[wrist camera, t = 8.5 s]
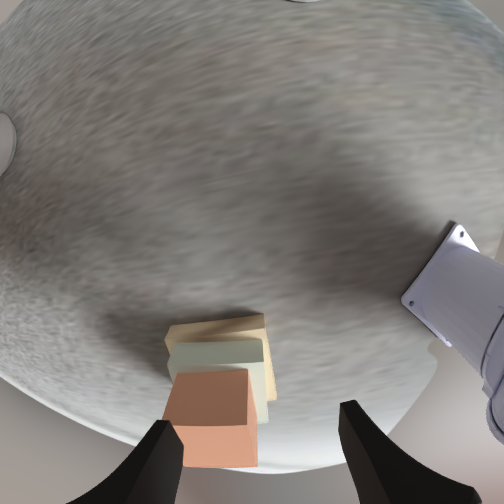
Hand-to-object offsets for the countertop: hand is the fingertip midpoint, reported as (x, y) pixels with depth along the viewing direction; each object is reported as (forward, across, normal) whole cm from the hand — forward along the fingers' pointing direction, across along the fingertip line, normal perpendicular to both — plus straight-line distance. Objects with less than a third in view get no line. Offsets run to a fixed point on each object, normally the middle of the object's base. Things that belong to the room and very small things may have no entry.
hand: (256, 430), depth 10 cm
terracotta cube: (+6, +3, +3) cm, 7 cm away
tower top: (+8, +3, +4) cm, 10 cm away
